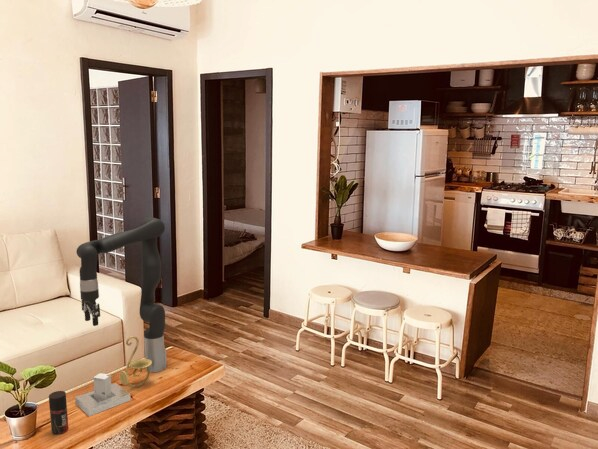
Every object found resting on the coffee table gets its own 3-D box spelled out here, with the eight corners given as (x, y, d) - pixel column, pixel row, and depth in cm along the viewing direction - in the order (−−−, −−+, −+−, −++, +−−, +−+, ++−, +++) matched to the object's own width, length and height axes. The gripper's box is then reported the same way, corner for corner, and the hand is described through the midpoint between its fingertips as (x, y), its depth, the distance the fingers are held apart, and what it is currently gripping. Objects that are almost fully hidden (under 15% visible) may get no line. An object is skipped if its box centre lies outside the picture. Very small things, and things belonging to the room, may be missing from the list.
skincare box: (93, 403, 213) (92, 377, 211) (101, 398, 217) (99, 372, 215) (105, 405, 211) (104, 379, 209) (112, 400, 215) (111, 374, 213)
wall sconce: (129, 396, 219) (126, 342, 214) (118, 389, 225) (115, 337, 221) (156, 384, 229) (154, 333, 225) (145, 378, 235) (142, 328, 231)
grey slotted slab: (116, 388, 225) (115, 382, 224) (130, 400, 215) (130, 394, 215) (75, 403, 212) (75, 397, 212) (88, 416, 203) (88, 409, 202)
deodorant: (62, 435, 190) (59, 399, 187) (48, 434, 190) (45, 397, 188) (71, 426, 195) (69, 391, 193) (58, 425, 196) (55, 390, 194)
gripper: (104, 290, 218) (106, 325, 221) (91, 283, 228) (93, 316, 231) (87, 293, 213) (89, 329, 216) (74, 286, 223) (77, 321, 226)
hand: (91, 322), depth 223 cm, fingers open, 8 cm apart
